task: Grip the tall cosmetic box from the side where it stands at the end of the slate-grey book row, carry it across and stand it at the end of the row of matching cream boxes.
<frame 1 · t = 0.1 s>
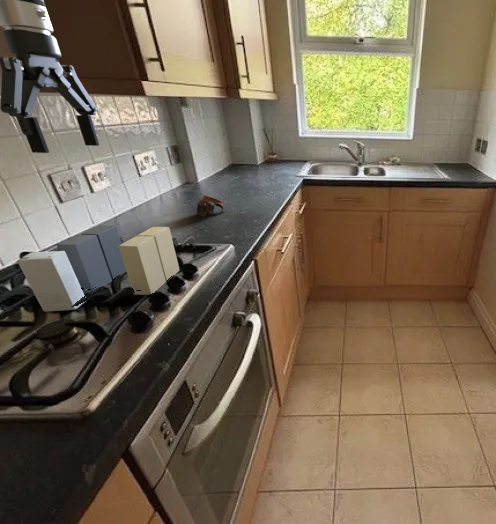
hand: (69, 148, 72), 30 cm above the worktop, tool pointing down, fingers open, 13 cm apart
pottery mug: (210, 214, 131), on the worktop
cosmetic box: (65, 307, 70), on the worktop
grey books: (104, 280, 81), on the worktop
cream boxes: (158, 281, 81), on the worktop
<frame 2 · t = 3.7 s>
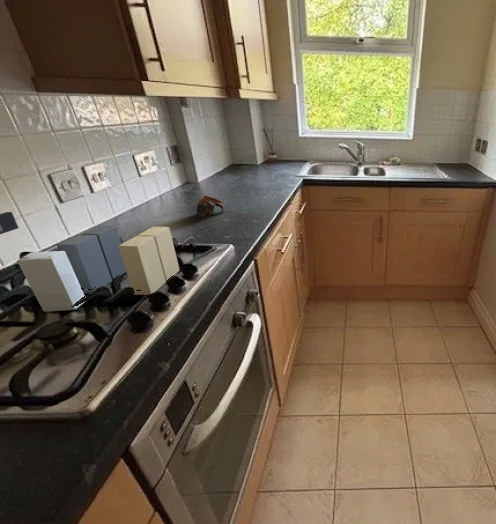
nothing on the worktop moved.
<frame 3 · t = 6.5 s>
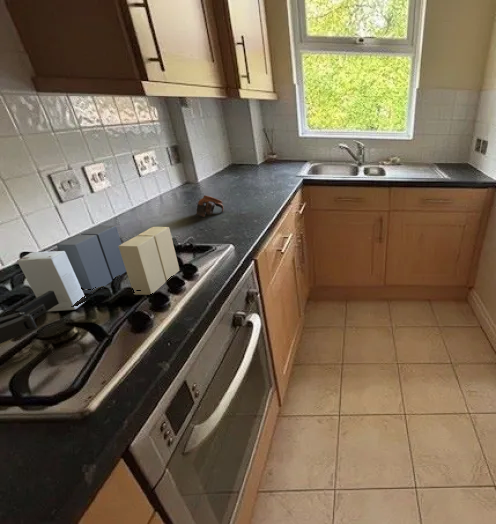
hand: (16, 296, 60), 7 cm above the worktop, tool horizontal, fingers open, 13 cm apart
nothing on the worktop moved.
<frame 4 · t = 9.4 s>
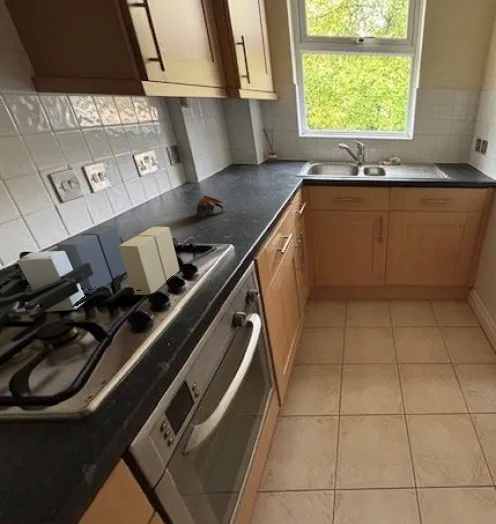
hand: (73, 268, 72), 7 cm above the worktop, tool horizontal, fingers closed on cosmetic box, 6 cm apart
cosmetic box: (65, 307, 70), on the worktop, touching gripper
everything else where it was.
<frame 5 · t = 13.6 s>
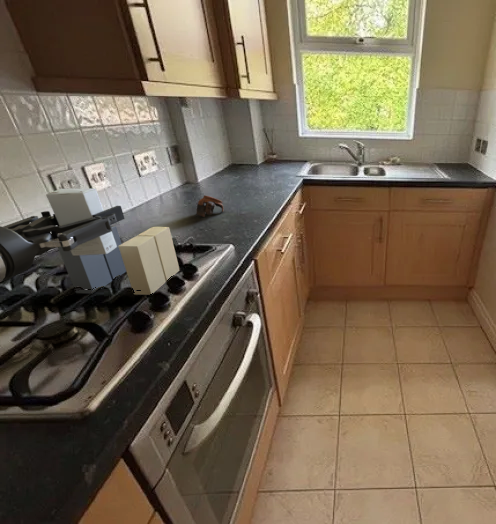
hand: (102, 211, 66), 20 cm above the worktop, tool horizontal, fingers closed on cosmetic box, 6 cm apart
cosmetic box: (95, 252, 65), point 13 cm above the worktop, touching gripper
everything else where it was.
when the fingers open (7 cm above the worktop, at t = 17.6 s): cosmetic box stays where it is, on the worktop.
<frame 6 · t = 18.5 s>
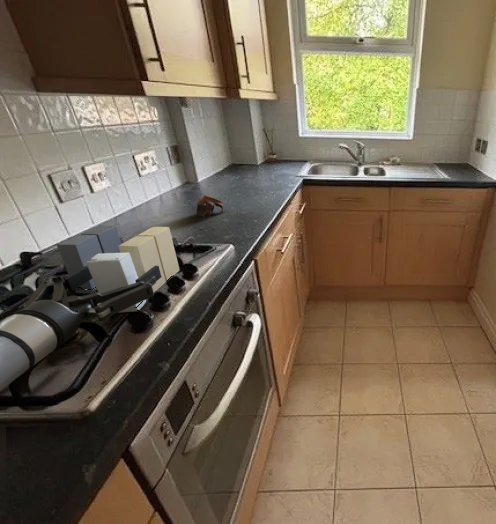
hand: (126, 270, 70), 7 cm above the worktop, tool horizontal, fingers open, 13 cm apart
cosmetic box: (126, 308, 70), on the worktop
everything else where it was.
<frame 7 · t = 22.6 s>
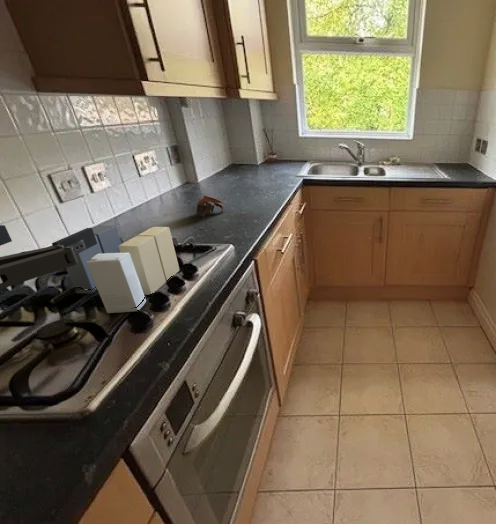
hand: (49, 234, 53), 20 cm above the worktop, tool horizontal, fingers open, 13 cm apart
nothing on the worktop moved.
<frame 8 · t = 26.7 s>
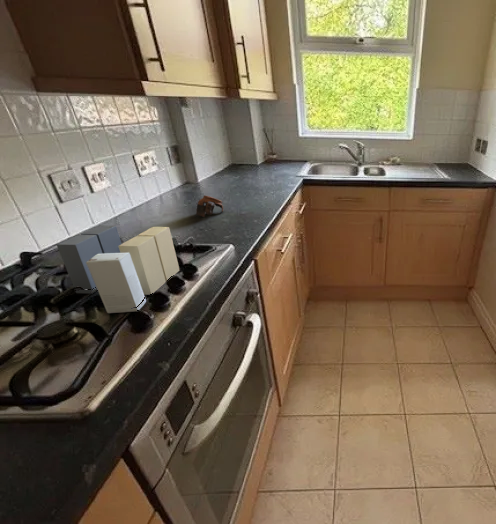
nothing on the worktop moved.
at the end: cosmetic box 0.1 cm from the target spot, on the worktop; cosmetic box tilted 0°; the gripper is holding nothing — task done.
